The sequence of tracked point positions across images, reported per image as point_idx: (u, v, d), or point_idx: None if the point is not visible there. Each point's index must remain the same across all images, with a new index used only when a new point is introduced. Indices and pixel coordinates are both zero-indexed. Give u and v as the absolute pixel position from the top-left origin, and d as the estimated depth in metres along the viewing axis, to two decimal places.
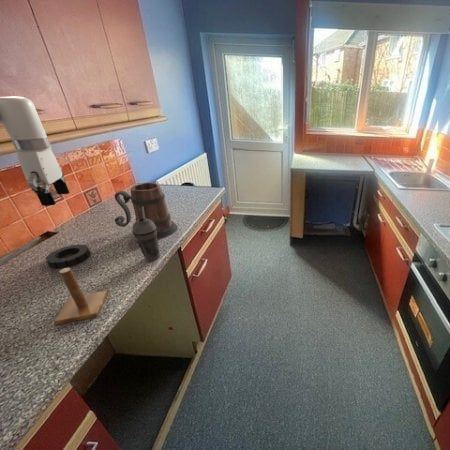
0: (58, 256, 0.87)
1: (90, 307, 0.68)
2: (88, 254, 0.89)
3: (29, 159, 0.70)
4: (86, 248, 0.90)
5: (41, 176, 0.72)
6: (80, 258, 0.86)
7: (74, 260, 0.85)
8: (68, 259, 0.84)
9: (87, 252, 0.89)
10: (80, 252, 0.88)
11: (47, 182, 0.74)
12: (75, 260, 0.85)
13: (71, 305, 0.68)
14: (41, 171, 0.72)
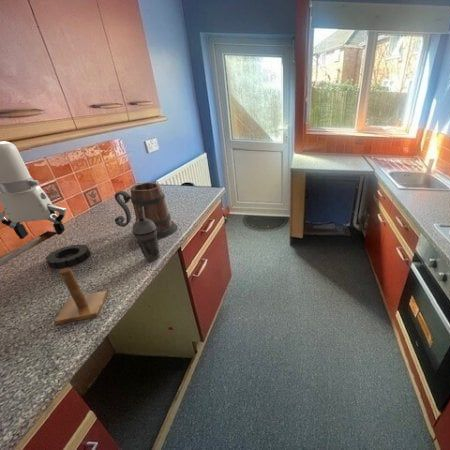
0: (58, 256, 0.87)
1: (90, 307, 0.68)
2: (88, 254, 0.89)
3: None
4: (86, 248, 0.90)
5: None
6: (80, 258, 0.86)
7: (74, 260, 0.85)
8: (68, 259, 0.84)
9: (87, 252, 0.89)
10: (80, 252, 0.88)
11: (10, 220, 0.76)
12: (75, 260, 0.85)
13: (71, 305, 0.68)
14: None
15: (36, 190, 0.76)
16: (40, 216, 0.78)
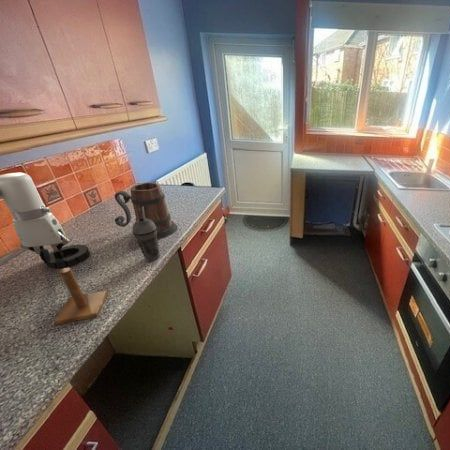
0: None
1: (90, 307, 0.68)
2: (88, 254, 0.89)
3: None
4: (86, 248, 0.90)
5: None
6: (80, 258, 0.86)
7: (74, 260, 0.85)
8: (68, 259, 0.84)
9: (86, 252, 0.89)
10: (80, 252, 0.88)
11: (23, 245, 0.80)
12: (75, 260, 0.85)
13: (71, 305, 0.68)
14: None
15: (48, 217, 0.80)
16: (51, 241, 0.82)
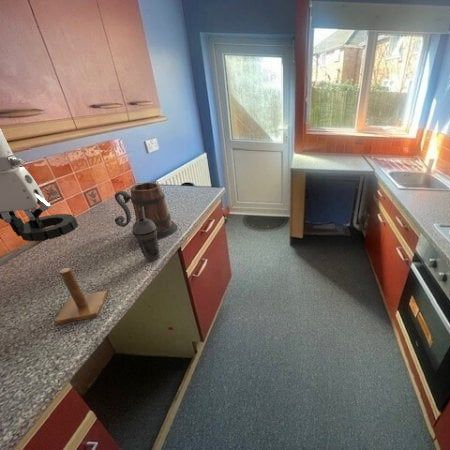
0: None
1: (90, 307, 0.68)
2: (75, 225, 0.69)
3: None
4: (72, 217, 0.70)
5: None
6: (64, 228, 0.66)
7: (56, 231, 0.65)
8: (47, 229, 0.64)
9: (73, 222, 0.69)
10: (64, 222, 0.68)
11: None
12: (57, 231, 0.65)
13: (71, 305, 0.68)
14: None
15: (19, 171, 0.60)
16: (25, 204, 0.62)
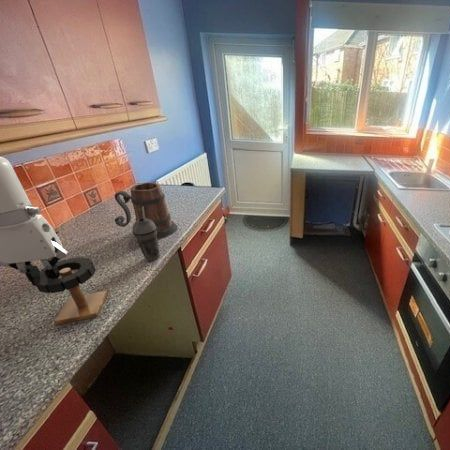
0: None
1: (90, 307, 0.68)
2: (93, 271, 0.65)
3: None
4: (90, 263, 0.66)
5: None
6: (82, 277, 0.62)
7: (73, 281, 0.60)
8: (65, 280, 0.60)
9: (91, 268, 0.65)
10: (82, 269, 0.63)
11: (1, 261, 0.56)
12: (75, 281, 0.61)
13: (71, 305, 0.68)
14: None
15: (37, 221, 0.55)
16: (41, 255, 0.58)
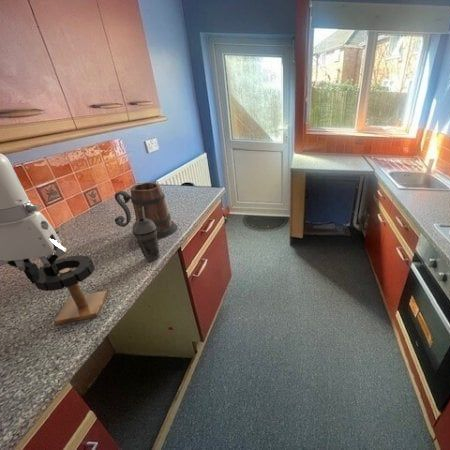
0: None
1: (90, 307, 0.68)
2: (92, 269, 0.65)
3: None
4: (89, 260, 0.65)
5: None
6: (81, 275, 0.62)
7: (72, 278, 0.60)
8: (64, 277, 0.59)
9: (90, 266, 0.64)
10: (81, 266, 0.63)
11: None
12: (74, 278, 0.60)
13: (71, 305, 0.68)
14: None
15: (35, 218, 0.55)
16: (40, 252, 0.57)
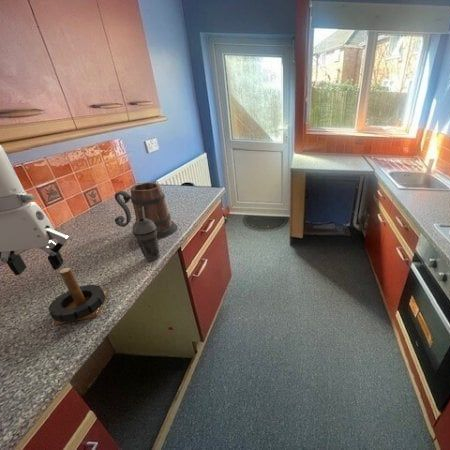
0: (65, 303, 0.67)
1: None
2: (103, 299, 0.69)
3: None
4: (100, 291, 0.70)
5: None
6: (93, 306, 0.66)
7: (85, 310, 0.65)
8: (78, 309, 0.64)
9: (101, 297, 0.69)
10: (93, 298, 0.68)
11: None
12: (86, 310, 0.65)
13: (71, 305, 0.68)
14: None
15: (30, 208, 0.54)
16: (35, 243, 0.56)
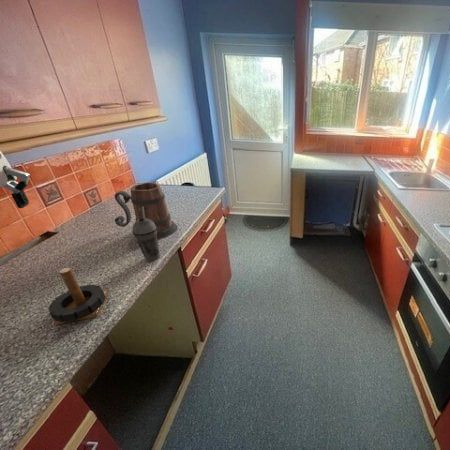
0: (65, 303, 0.67)
1: None
2: (103, 299, 0.69)
3: None
4: (100, 291, 0.70)
5: None
6: (93, 306, 0.66)
7: (85, 310, 0.65)
8: (78, 309, 0.64)
9: (101, 297, 0.69)
10: (93, 298, 0.68)
11: None
12: (86, 310, 0.65)
13: (71, 305, 0.68)
14: None
15: None
16: None
